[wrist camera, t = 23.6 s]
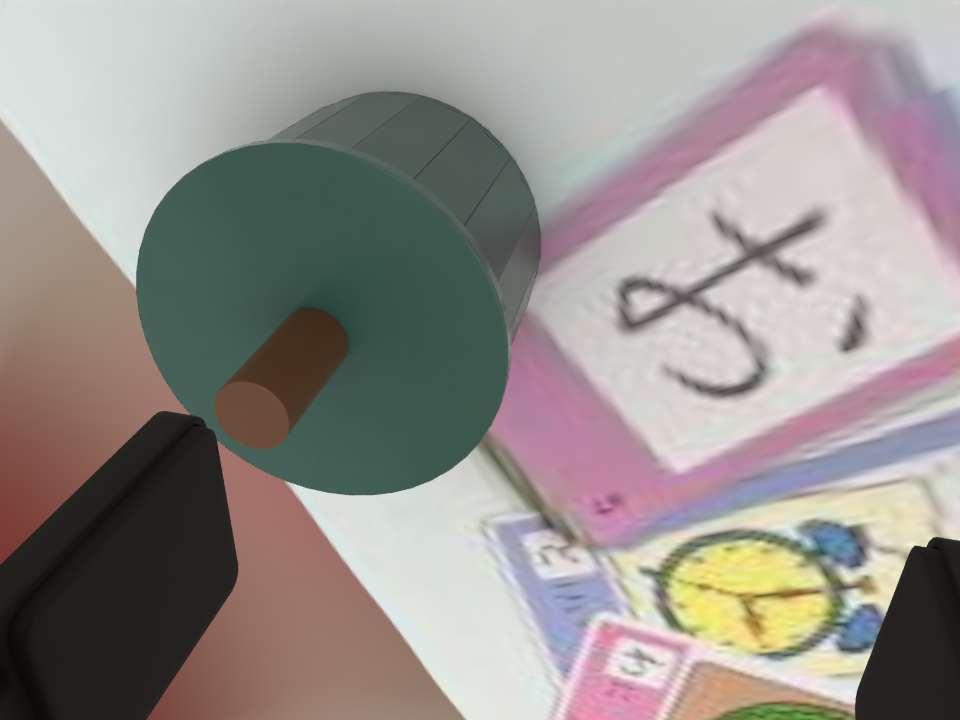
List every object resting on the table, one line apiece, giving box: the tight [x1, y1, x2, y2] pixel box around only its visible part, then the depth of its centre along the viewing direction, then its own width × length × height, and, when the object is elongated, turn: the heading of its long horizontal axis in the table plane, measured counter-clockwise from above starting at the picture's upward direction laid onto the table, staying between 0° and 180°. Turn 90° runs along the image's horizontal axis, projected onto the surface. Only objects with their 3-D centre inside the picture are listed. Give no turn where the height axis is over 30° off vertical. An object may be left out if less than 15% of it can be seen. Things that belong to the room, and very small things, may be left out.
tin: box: [268, 92, 541, 345], centre depth 33 cm, size 13×13×10 cm
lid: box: [136, 139, 511, 495], centre depth 27 cm, size 14×14×6 cm
